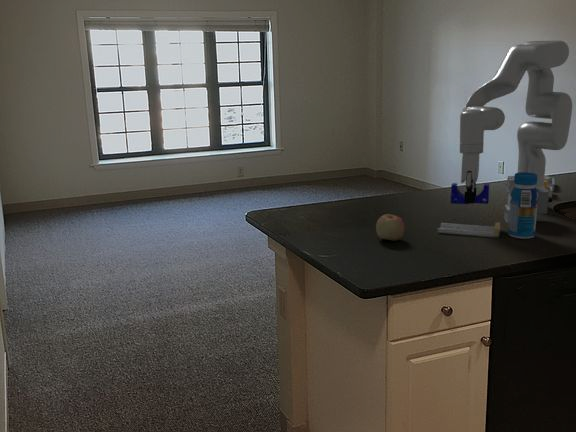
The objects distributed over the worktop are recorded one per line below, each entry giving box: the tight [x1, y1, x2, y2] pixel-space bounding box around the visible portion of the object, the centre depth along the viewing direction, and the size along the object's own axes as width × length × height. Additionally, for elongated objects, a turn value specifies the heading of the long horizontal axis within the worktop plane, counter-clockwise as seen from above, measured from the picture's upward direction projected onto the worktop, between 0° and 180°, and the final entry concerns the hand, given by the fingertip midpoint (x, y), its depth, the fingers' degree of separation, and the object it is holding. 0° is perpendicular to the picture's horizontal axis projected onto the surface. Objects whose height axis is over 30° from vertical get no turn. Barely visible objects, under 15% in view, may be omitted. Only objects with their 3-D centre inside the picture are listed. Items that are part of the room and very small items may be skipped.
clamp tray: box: [506, 186, 553, 199], centre depth 257 cm, size 9×17×3 cm, turn 69°
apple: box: [375, 213, 406, 242], centre depth 200 cm, size 9×9×8 cm
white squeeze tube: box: [437, 221, 502, 239], centre depth 207 cm, size 8×19×3 cm, turn 69°
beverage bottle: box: [507, 172, 538, 240], centre depth 200 cm, size 8×8×20 cm
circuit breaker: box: [503, 175, 553, 224], centre depth 218 cm, size 8×14×15 cm, turn 78°
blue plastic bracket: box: [450, 182, 490, 205], centre depth 214 cm, size 12×4×6 cm, turn 69°
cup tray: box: [546, 176, 555, 192], centre depth 271 cm, size 15×15×3 cm
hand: (470, 200), depth 215 cm, fingers closed on blue plastic bracket, 4 cm apart
